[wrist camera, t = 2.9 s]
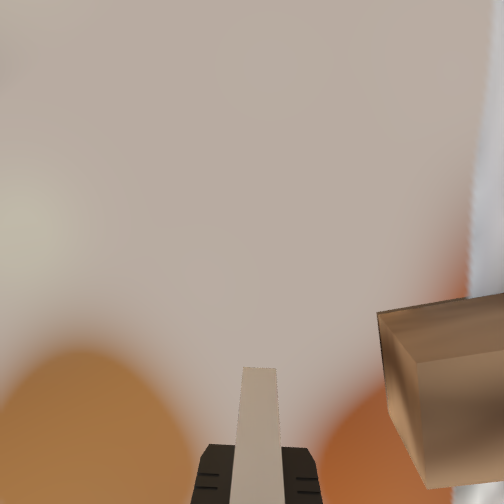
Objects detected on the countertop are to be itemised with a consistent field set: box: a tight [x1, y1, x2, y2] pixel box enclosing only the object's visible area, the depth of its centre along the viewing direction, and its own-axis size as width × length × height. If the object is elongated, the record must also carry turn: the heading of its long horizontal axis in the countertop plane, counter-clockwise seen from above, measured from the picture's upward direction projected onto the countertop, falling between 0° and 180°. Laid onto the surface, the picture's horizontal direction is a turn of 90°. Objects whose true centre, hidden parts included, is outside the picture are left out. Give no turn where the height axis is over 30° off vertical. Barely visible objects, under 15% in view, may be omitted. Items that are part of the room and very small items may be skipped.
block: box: [376, 293, 504, 489], centre depth 15 cm, size 7×10×4 cm
